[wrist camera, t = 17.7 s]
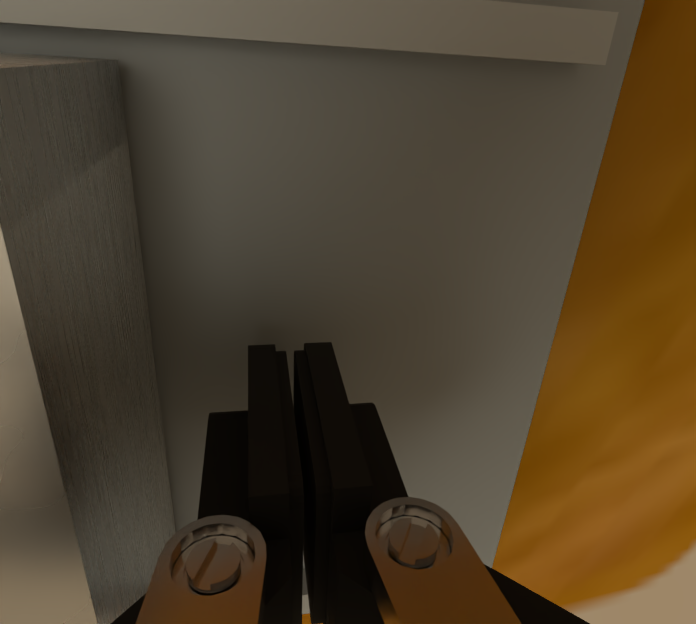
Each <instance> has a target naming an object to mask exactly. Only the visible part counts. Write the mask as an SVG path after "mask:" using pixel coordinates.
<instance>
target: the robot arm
mask: <svg viewBox="0 0 696 624" xmlns="http://www.w3.org/2000/svg"><path fill="white" fill-rule="evenodd" d="M303 555H304V564H305V573H306V582H307V591H308V600H309V609H310V617H311V623H312V624H318V623H323V624H589V623H588V622H586V621H584V620H582V619H581V618H579V617H577V616H575V615H574V614H572V613H570V612H568V611H566V610H565V609H563V608H561V607H559V606H558V605H556V604H554V603H552V602H551V601H549V600H547V599H545V598H543V597H542V596H540V595H538V594H536V593H535V592H533V591H531V590H529V589H528V588H526V587H524V586H522V585H520V584H519V583H517V582H515V581H513V580H512V579H510V578H508V577H506V576H504V575H503V574H501V573H499V572H497V571H496V570H494V569H492V568H490V567H489V566H487V565H485V564H483V562H482V561H481V559H480V558H479V556H478V554H477V553H476V551H475V550H474V548H473V546H472V545H471V543H470V542H469V540H468V539H467V537H466V535H465V534H464V532H463V531H462V529H461V528H460V526H459V524H458V523H457V522H456V521H455V520H454V518H453V517H452V516H451V515H450V514H449V513H448V512H447V511H445V510H444V509H443V508H441V507H440V506H438V505H437V504H434V503H432V502H429V501H427V500H424V499H420V498H413V497H408V494H407V491H406V489H405V486H404V483H403V480H402V478H401V475H400V472H399V469H398V467H397V464H396V461H395V458H394V455H393V453H392V450H391V447H390V444H389V442H388V439H387V436H386V433H385V431H384V428H383V425H382V422H381V420H380V417H379V414H378V411H377V409H376V407H375V404H374V403H372V402H371V403H356V404H349V401H348V398H347V394H346V391H345V387H344V384H343V380H342V377H341V374H340V370H339V367H338V363H337V360H336V356H335V353H334V349H333V346H332V343H331V342H318V343H304V350H294V397H293V400H292V393H291V385H290V377H289V370H288V362H287V354H286V351H276V348H275V344H269V345H248V410H244V411H228V412H212V413H209V416H208V424H207V434H206V443H205V452H204V462H203V471H202V481H201V490H200V500H199V509H198V518H197V520H196V521H193V522H191V523H189V524H188V525H186V526H184V527H183V528H181V529H180V530H178V531H177V532H176V533H175V534H174V535H173V536H172V537H171V538H170V539H169V540H168V541H167V543H166V544H165V546H164V548H163V550H162V552H161V554H160V556H159V558H158V561H157V564H156V567H155V570H154V573H153V575H152V578H151V581H150V584H149V587H148V590H147V593H146V594H144V595H143V596H142V597H141V598H140V599H139V600H137V601H136V602H135V603H134V604H133V605H132V606H130V607H129V608H128V609H127V610H126V611H125V612H123V613H122V614H121V615H120V616H119V617H118V618H116V619H115V620H114V621H113V622H112V623H111V624H302V587H303Z"/></svg>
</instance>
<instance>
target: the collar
mask: <svg viewBox="0 0 696 624" xmlns="http://www.w3.org/2000/svg"><path fill="white" fill-rule="evenodd" d="M175 533H176V532H175V524H174V516H173V508H172V500H171V491H170V483H169V475H168V467H167V459H166V451H165V443H164V434H163V426H162V418H161V410H160V402H159V394H158V386H157V377H156V369H155V361H154V353H153V345H152V337H151V329H150V320H149V312H148V304H147V296H146V288H145V280H144V272H143V263H142V255H141V247H140V239H139V231H138V223H137V214H136V206H135V198H134V190H133V182H132V174H131V166H130V157H129V149H128V141H127V133H126V125H125V117H124V109H123V100H122V92H121V84H120V76H119V68H118V60H112V59H96V58H79V57H63V56H47V55H30V54H14V53H0V624H111V623H112V622H113V621H114V620H115V619H116V618H118V617H119V616H120V615H121V614H122V613H123V612H125V611H126V610H127V609H128V608H129V607H130V606H132V605H133V604H134V603H135V602H136V601H137V600H139V599H140V598H141V597H142V596H143V595H144V594H146V593H147V590H148V587H149V584H150V581H151V578H152V575H153V573H154V570H155V567H156V564H157V561H158V558H159V556H160V554H161V552H162V550H163V548H164V546H165V544H166V543H167V541H168V540H169V539H170V538H171V537H172V536H173V535H174V534H175Z"/></svg>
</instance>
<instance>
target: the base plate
mask: <svg viewBox="0 0 696 624" xmlns="http://www.w3.org/2000/svg"><path fill="white" fill-rule="evenodd" d="M644 1H645V0H0V53H14V54H30V55H47V56H63V57H79V58H96V59H112V60H118V68H119V76H120V84H121V92H122V100H123V109H124V117H125V125H126V133H127V141H128V149H129V157H130V166H131V174H132V182H133V190H134V198H135V206H136V214H137V223H138V231H139V239H140V247H141V255H142V263H143V272H144V280H145V288H146V296H147V304H148V312H149V320H150V329H151V337H152V345H153V353H154V361H155V369H156V377H157V386H158V394H159V402H160V410H161V418H162V426H163V434H164V443H165V451H166V459H167V467H168V475H169V483H170V491H171V500H172V508H173V516H174V524H175V532H177V531H178V530H180V529H181V528H183V527H184V526H186V525H188V524H189V523H191V522H193V521H196V520H197V518H198V509H199V500H200V490H201V481H202V471H203V462H204V452H205V443H206V434H207V424H208V416H209V413H212V412H228V411H244V410H248V345H269V344H275V348H276V351H286V354H287V362H288V370H289V377H290V385H291V393H292V400H293V397H294V350H304V343H318V342H331V343H332V346H333V349H334V353H335V356H336V360H337V363H338V367H339V370H340V374H341V377H342V380H343V384H344V387H345V391H346V394H347V398H348V401H349V404H356V403H371V402H372V403H374V404H375V407H376V409H377V411H378V414H379V417H380V420H381V422H382V425H383V428H384V431H385V433H386V436H387V439H388V442H389V444H390V447H391V450H392V453H393V455H394V458H395V461H396V464H397V467H398V469H399V472H400V475H401V478H402V480H403V483H404V486H405V489H406V491H407V494H408V497H413V498H420V499H424V500H427V501H429V502H432V503H434V504H437V505H438V506H440V507H441V508H443V509H444V510H445V511H447V512H448V513H449V514H450V515H451V516H452V517H453V518H454V520H455V521H456V522H457V523H458V524H459V526H460V528H461V529H462V531H463V532H464V534H465V535H466V537H467V539H468V540H469V542H470V543H471V545H472V546H473V548H474V550H475V551H476V553H477V554H478V556H479V558H480V559H481V561H482V562H483V564H485V565H487V566H489V567H490V568H492V565H493V561H494V557H495V554H496V550H497V546H498V543H499V539H500V535H501V531H502V528H503V524H504V520H505V517H506V513H507V509H508V505H509V502H510V498H511V494H512V491H513V487H514V483H515V480H516V476H517V472H518V468H519V465H520V461H521V457H522V454H523V450H524V446H525V442H526V439H527V435H528V431H529V428H530V424H531V420H532V417H533V413H534V409H535V405H536V402H537V398H538V394H539V391H540V387H541V383H542V379H543V376H544V372H545V368H546V365H547V361H548V357H549V353H550V350H551V346H552V342H553V339H554V335H555V331H556V328H557V324H558V320H559V316H560V313H561V309H562V305H563V302H564V298H565V294H566V290H567V287H568V283H569V279H570V276H571V272H572V268H573V264H574V261H575V257H576V253H577V250H578V246H579V242H580V239H581V235H582V231H583V227H584V224H585V220H586V216H587V213H588V209H589V205H590V201H591V198H592V194H593V190H594V187H595V183H596V179H597V176H598V172H599V168H600V164H601V161H602V157H603V153H604V150H605V146H606V142H607V138H608V135H609V131H610V127H611V124H612V120H613V116H614V112H615V109H616V105H617V101H618V98H619V94H620V90H621V87H622V83H623V79H624V75H625V72H626V68H627V64H628V61H629V57H630V53H631V49H632V46H633V42H634V38H635V35H636V31H637V27H638V23H639V20H640V16H641V12H642V9H643V5H644ZM307 613H310V609H309V600H308V591H307V582H306V573H305V564H304V555H303V587H302V614H307Z"/></svg>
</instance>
